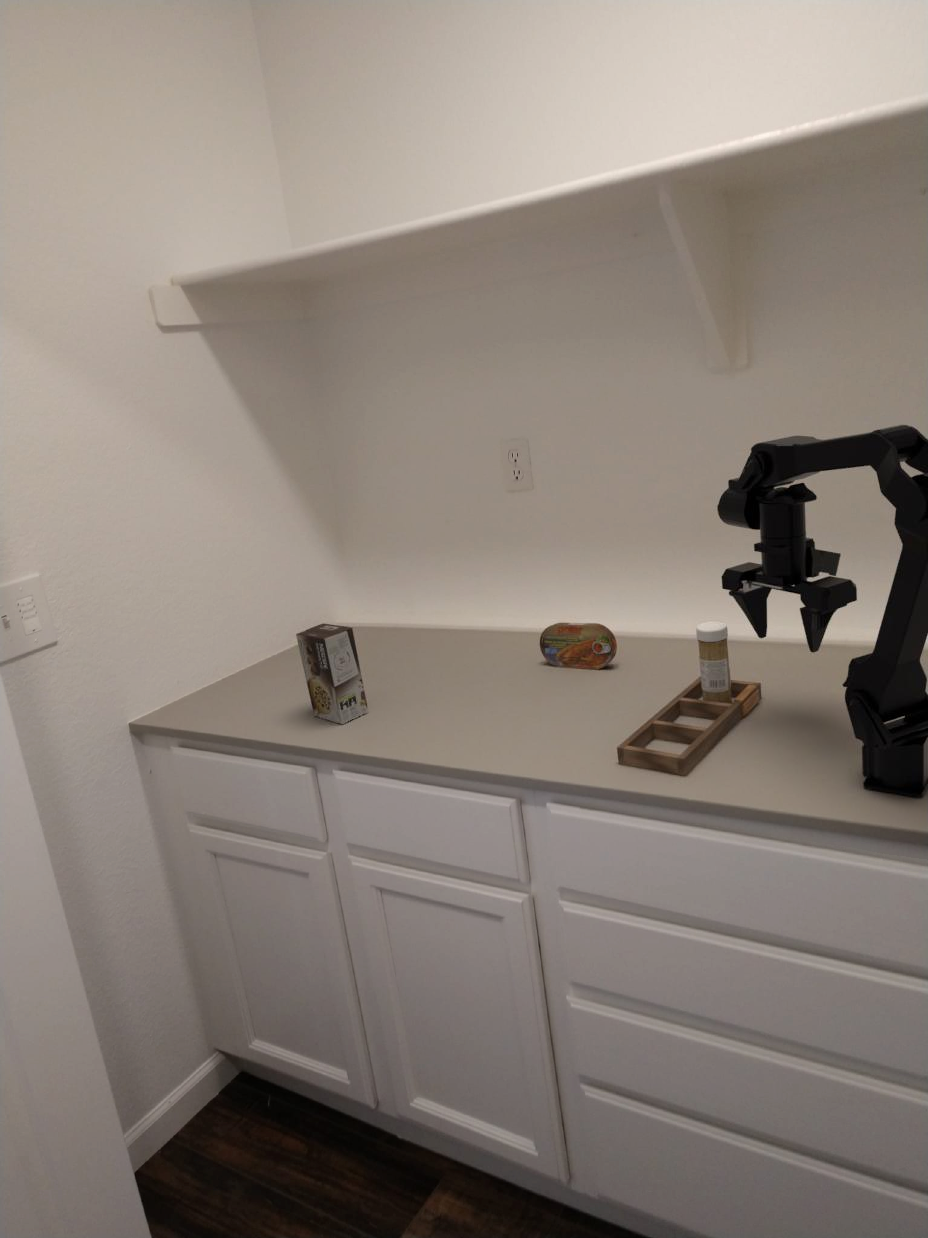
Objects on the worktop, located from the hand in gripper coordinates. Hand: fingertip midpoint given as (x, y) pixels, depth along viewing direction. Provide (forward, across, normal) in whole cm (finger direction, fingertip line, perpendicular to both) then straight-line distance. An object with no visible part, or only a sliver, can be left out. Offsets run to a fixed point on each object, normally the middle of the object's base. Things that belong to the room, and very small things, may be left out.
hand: (787, 644), depth 117 cm
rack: (+13, +10, +9) cm, 19 cm away
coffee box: (+14, +59, +48) cm, 77 cm away
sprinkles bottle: (+13, +14, +1) cm, 19 cm away
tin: (+14, +46, +5) cm, 48 cm away
